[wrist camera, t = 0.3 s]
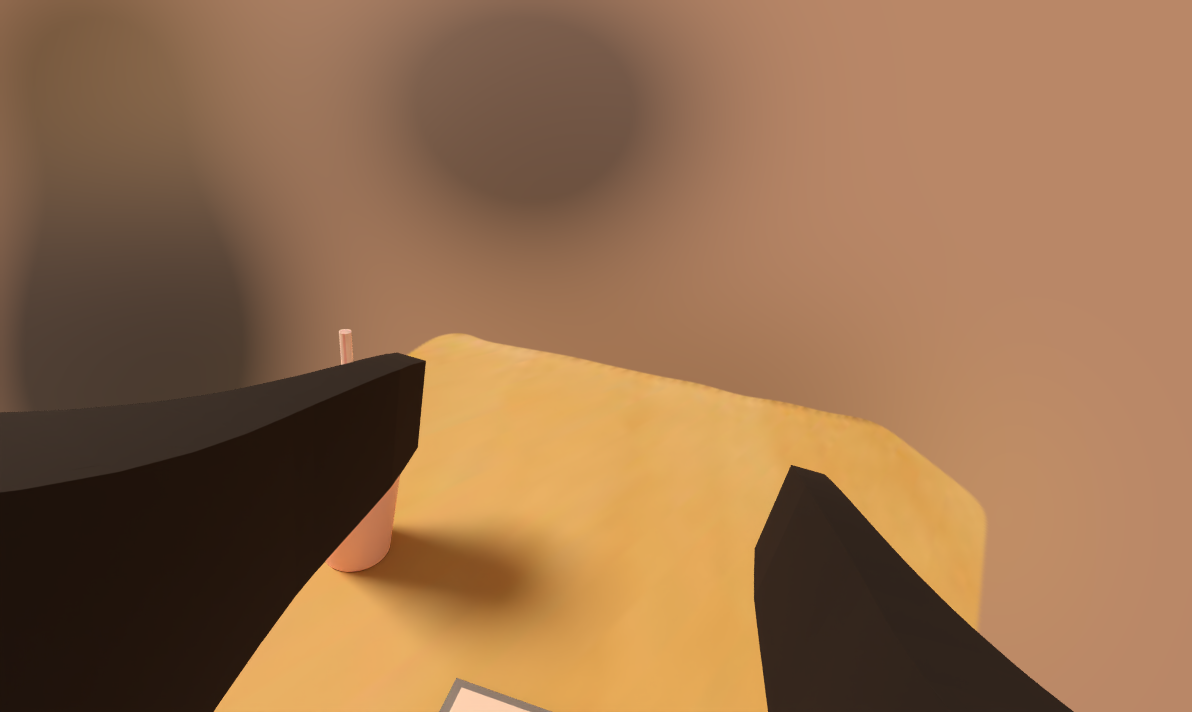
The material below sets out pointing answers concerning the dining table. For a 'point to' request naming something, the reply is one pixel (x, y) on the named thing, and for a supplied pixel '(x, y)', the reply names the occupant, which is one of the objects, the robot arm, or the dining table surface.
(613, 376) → the dining table surface
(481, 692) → the notepad
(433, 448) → the dining table surface
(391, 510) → the smoothie
